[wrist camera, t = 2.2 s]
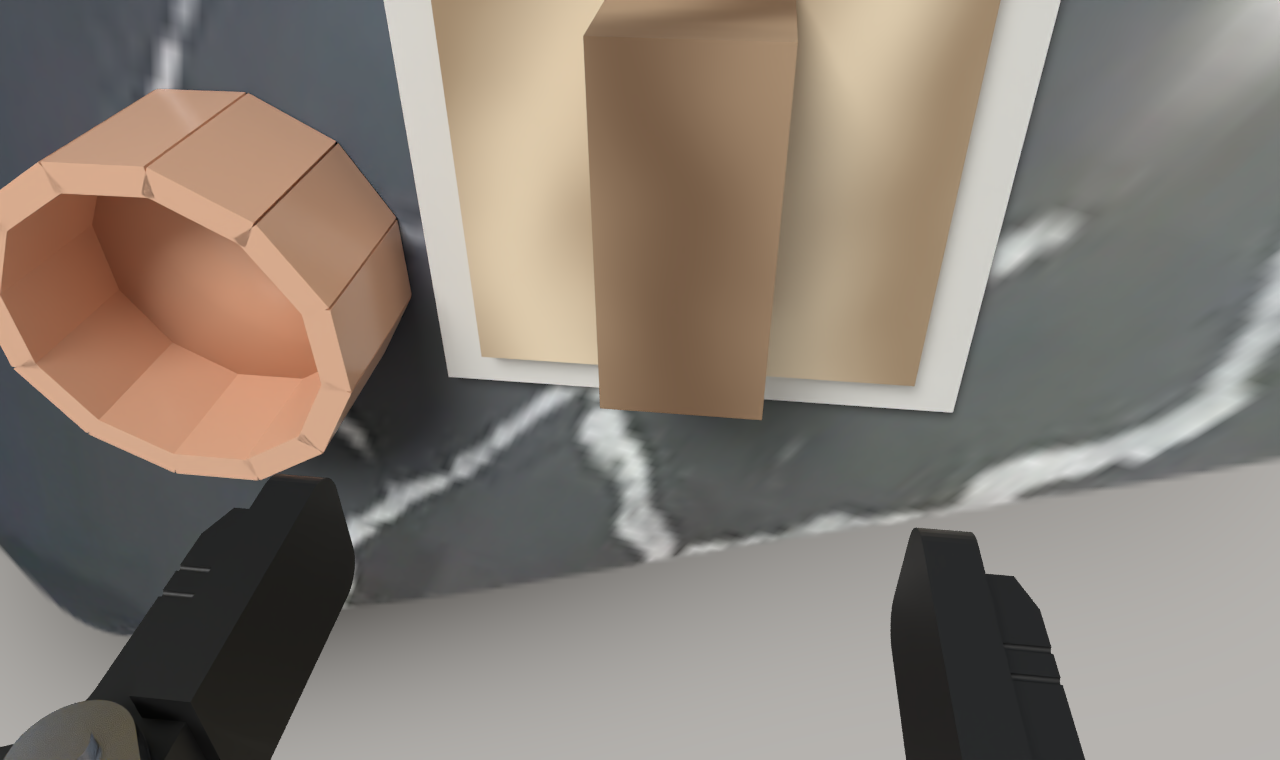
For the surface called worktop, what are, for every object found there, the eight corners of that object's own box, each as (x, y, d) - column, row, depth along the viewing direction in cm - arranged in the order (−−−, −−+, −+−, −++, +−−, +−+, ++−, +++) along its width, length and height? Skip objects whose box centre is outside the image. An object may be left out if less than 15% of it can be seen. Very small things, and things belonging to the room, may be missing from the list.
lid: (1018, -125, 19) (1085, -74, 15) (911, 369, 27) (935, 494, 23) (424, -130, 20) (331, -86, 16) (488, 341, 28) (436, 454, 24)
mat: (1107, -212, 18) (1115, -209, 18) (949, 400, 28) (952, 412, 27) (357, -211, 20) (347, -209, 20) (454, 366, 30) (448, 376, 29)
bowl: (374, 97, 24) (294, 173, 20) (429, 387, 30) (376, 490, 26) (35, 84, 25) (-103, 154, 21) (154, 367, 31) (63, 463, 27)
